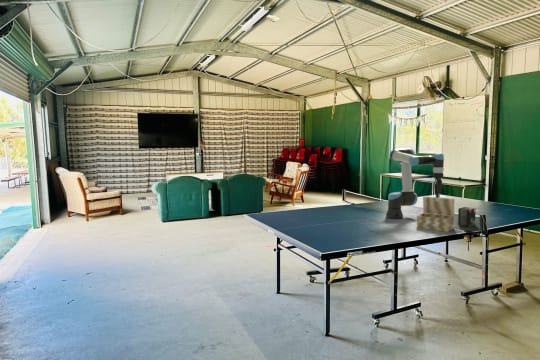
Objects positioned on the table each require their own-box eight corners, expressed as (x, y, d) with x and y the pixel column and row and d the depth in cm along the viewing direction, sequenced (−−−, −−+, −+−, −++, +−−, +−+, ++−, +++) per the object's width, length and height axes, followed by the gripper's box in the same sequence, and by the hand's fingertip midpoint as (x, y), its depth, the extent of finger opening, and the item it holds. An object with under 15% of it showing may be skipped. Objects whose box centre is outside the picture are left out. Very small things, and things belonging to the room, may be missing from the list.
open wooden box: (416, 227, 289) (416, 215, 288) (423, 224, 299) (423, 212, 298) (448, 231, 273) (448, 219, 272) (453, 228, 283) (454, 216, 282)
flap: (422, 196, 296) (423, 196, 297) (423, 212, 298) (423, 212, 299) (453, 199, 280) (454, 198, 280) (454, 216, 282) (454, 215, 283)
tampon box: (469, 227, 285) (469, 209, 283) (457, 225, 292) (458, 208, 291) (475, 225, 291) (476, 208, 290) (464, 223, 299) (464, 206, 297)
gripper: (440, 173, 278) (439, 202, 280) (445, 172, 287) (445, 200, 290) (430, 172, 283) (429, 201, 285) (436, 171, 293) (435, 200, 295)
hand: (437, 201), depth 287 cm, fingers closed
